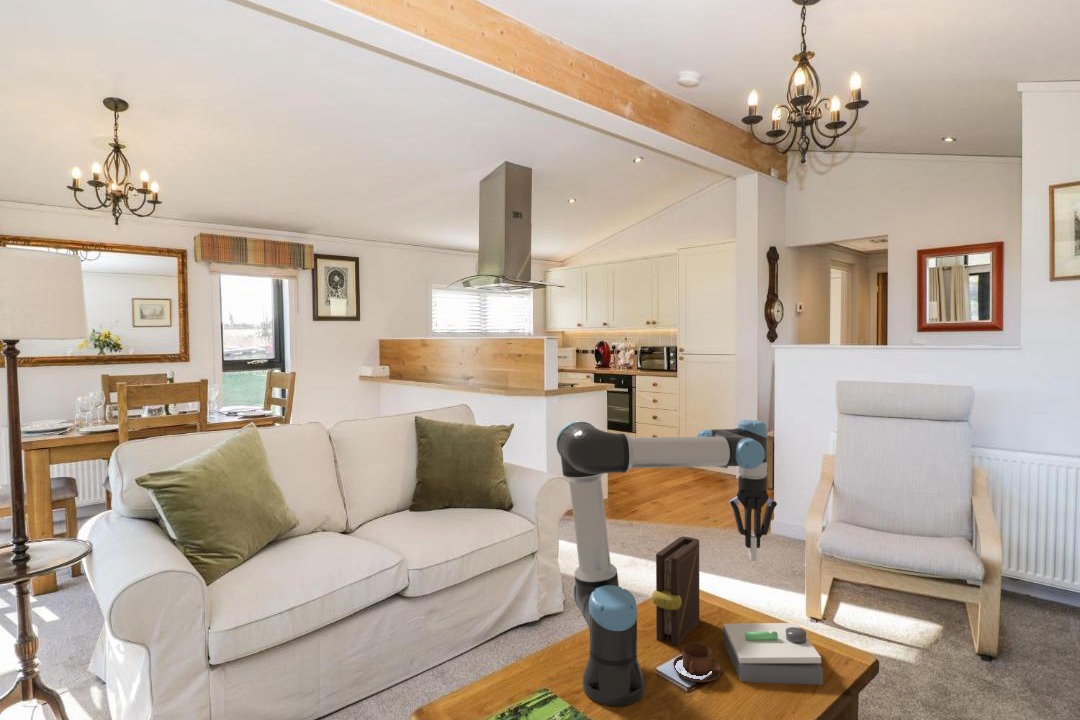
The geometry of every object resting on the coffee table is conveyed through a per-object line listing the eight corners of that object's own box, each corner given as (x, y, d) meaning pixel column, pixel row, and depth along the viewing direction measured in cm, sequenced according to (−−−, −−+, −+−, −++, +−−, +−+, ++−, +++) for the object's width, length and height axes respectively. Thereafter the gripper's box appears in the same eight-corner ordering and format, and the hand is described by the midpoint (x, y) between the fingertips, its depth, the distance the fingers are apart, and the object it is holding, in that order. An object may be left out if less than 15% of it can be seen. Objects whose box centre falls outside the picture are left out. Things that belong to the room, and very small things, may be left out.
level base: (740, 681, 147) (740, 666, 147) (722, 641, 167) (722, 627, 167) (822, 684, 146) (823, 669, 145) (795, 643, 165) (795, 629, 165)
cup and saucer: (723, 689, 144) (723, 665, 144) (673, 684, 147) (673, 660, 147) (718, 663, 156) (718, 640, 156) (672, 659, 159) (672, 636, 158)
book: (678, 613, 185) (678, 535, 184) (705, 620, 180) (704, 540, 179) (648, 642, 167) (648, 556, 166) (676, 651, 162) (676, 562, 161)
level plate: (739, 663, 148) (738, 649, 148) (723, 628, 166) (723, 615, 166) (821, 663, 146) (820, 648, 146) (796, 628, 164) (795, 615, 164)
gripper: (772, 473, 167) (772, 554, 168) (725, 472, 168) (725, 553, 169) (780, 479, 160) (780, 564, 161) (731, 478, 161) (732, 563, 162)
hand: (752, 558), depth 165 cm, fingers closed
